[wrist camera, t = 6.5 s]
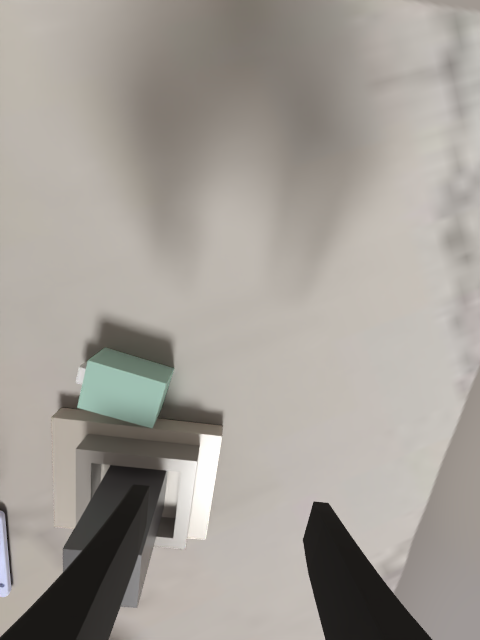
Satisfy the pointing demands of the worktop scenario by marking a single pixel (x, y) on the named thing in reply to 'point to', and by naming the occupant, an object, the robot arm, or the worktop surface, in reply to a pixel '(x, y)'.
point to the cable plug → (123, 387)
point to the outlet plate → (140, 452)
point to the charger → (102, 508)
